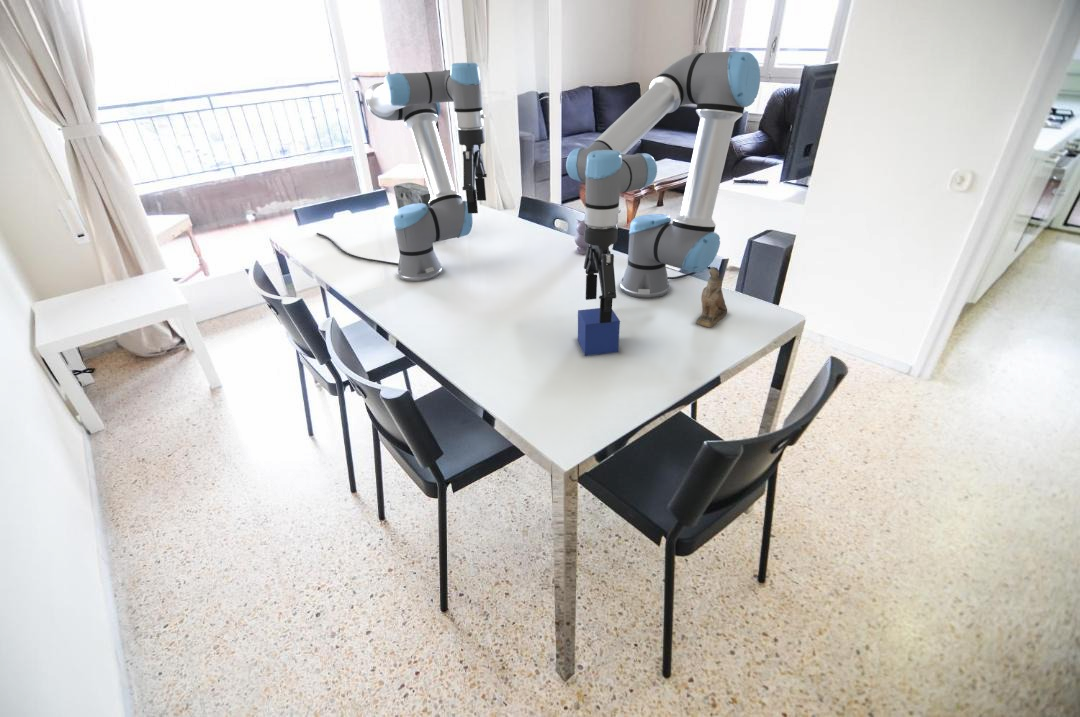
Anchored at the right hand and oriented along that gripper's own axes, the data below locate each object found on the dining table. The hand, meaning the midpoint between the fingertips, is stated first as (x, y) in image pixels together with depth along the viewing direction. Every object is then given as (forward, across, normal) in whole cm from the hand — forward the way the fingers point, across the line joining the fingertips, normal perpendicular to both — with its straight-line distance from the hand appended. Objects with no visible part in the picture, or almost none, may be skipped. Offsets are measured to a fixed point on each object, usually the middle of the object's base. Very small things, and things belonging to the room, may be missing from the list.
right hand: (597, 310), depth 123 cm
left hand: (-17, +42, +26) cm, 53 cm away
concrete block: (+10, +108, +48) cm, 119 cm away
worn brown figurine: (+10, +8, -36) cm, 38 cm away
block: (+10, 0, 0) cm, 11 cm away
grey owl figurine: (+10, +70, -14) cm, 72 cm away
